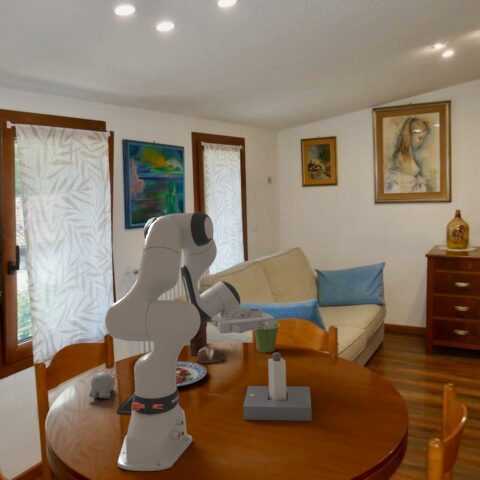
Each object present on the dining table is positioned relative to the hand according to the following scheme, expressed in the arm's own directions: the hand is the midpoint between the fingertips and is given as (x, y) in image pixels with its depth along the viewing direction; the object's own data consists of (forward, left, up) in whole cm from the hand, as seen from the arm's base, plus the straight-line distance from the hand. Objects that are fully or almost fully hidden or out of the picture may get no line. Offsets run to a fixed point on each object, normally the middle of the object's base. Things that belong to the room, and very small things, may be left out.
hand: (253, 328), depth 167 cm
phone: (-10, +38, -23) cm, 45 cm away
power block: (-12, -8, -22) cm, 26 cm away
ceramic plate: (+13, +32, -23) cm, 41 cm away
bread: (+35, +21, -23) cm, 46 cm away
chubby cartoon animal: (-4, +51, -22) cm, 56 cm away
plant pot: (+46, -1, -22) cm, 51 cm away
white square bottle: (-12, -8, -22) cm, 26 cm away
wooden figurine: (+44, +28, -22) cm, 57 cm away
